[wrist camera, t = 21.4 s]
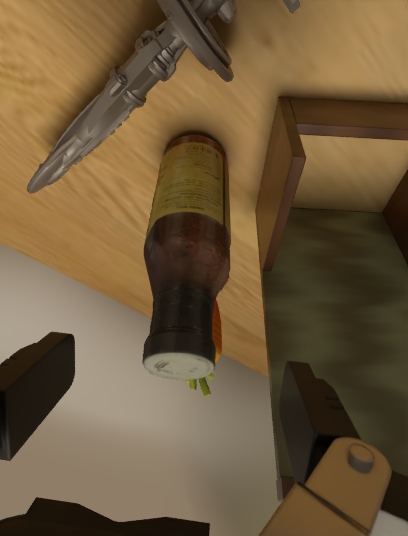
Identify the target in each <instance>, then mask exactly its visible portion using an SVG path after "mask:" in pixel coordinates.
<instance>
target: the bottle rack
mask: <svg viewBox="0 0 408 536" xmlns="http://www.w3.org/2000/svg"><path fill="white" fill-rule="evenodd" d="M299 134H302V135H320V136H338V137H356V138H374V139H392V140H408V104H397V103H379V102H360V101H342V100H323V99H305V98H288V97H278V101H277V106H276V111H275V116H274V121H273V126H272V131H271V136H270V141H269V146H268V151H267V156H266V161H265V166H264V171H263V176H262V181H261V186H260V191H259V196H258V201H257V206H256V224H257V236H258V248H259V261H260V273H261V285H262V297H263V310H264V322H265V334H266V347H267V359H268V371H269V383H270V396H271V407H272V420H273V433H274V445H275V456H276V470H277V478H278V480H277V481H276V484H277V496H278V501H283V500H284V498H285V497H286V496H287V494H288V493H289V491H290V490H291V488H292V487H293V486H294V484H295V481H294V476H293V472H292V468H291V463H290V459H289V454H288V450H287V446H286V441H285V437H284V432H283V428H282V424H281V419H280V414H279V399H280V393H281V387H282V381H283V375H284V369H285V364H286V362H287V361H296V362H304V363H309V365H310V367H311V369H312V371H313V373H314V375H315V377H316V378H320V379H324V380H325V381H326V382H327V383H328V384H329V385H331V386H332V387H333V388H334V389H335V391H336V393H337V395H338V397H339V399H340V401H341V402H342V404H343V406H344V408H345V410H346V412H347V414H348V415H349V417H350V419H351V421H352V423H353V425H354V427H355V429H356V430H357V432H358V434H359V436H360V438H361V440H362V441H365V442H367V443H369V444H370V445H372V446H373V447H375V448H376V449H377V450H379V451H380V452H381V453H382V454H383V455H384V456H385V458H386V459H387V460H388V462H389V464H390V466H391V469H392V470H393V471H395V472H397V473H400V474H402V475H405V476H407V477H408V171H407V173H406V174H405V176H404V178H403V179H402V181H401V183H400V184H399V186H398V188H397V189H396V191H395V193H394V194H393V196H392V198H391V199H390V201H389V203H388V204H387V206H386V208H385V209H384V211H383V213H370V212H353V211H336V210H319V209H302V208H291V206H292V202H293V199H294V196H295V193H296V189H297V186H298V183H299V180H300V176H301V173H302V170H303V167H304V163H305V160H306V156H305V153H304V149H303V146H302V142H301V139H300V136H299Z"/></svg>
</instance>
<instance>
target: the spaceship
mask: <svg viewBox="0 0 408 536" xmlns="http://www.w3.org/2000/svg"><path fill="white" fill-rule="evenodd" d="M156 1H157V2H158V4H159V6H160V7H161V9H162V11H163V12H164V14H165V15H166V17H167V20H165V21H164V22H163V23H162V24H160V25H159V26H158V27H157V28H155V29H154V30H153V31H150V30H147V31H146V32H144V33H143V34H142V35H141V36H140V38H138V39H137V40H136V43H135V48H136V51H135V52H134V54H133V55H132V56H131V57H130V58H129V59H128V61H127V62H126V63H125V64H124V65H123V66H121V67H118V66H116V67H115V68H113V69H111V72H110V75H109V76H110V80H109V81H108V82H107V83H106V85H105V88H104V90H103V91H102V92H101V93H100V94H99V95H97V96H96V97H95V98H94V99H93V100H92V101H91V102H90V103H89V104H88V106H87V107H86V108H85V109H84V110H83V111H82V112H81V113H80V114H79V115H78V117H77V118H76V119H75V120H74V121H73V122H72V124H71V125H70V126H69V127H68V128H67V130H66V131H65V132H64V134H63V135H62V136H61V138H60V139H59V140H58V142H57V143H56V145H55V146H54V148H53V149H52V151H51V152H50V154H49V156H48V157H47V159H46V160H45V162H44V163H42V164H40V165H39V169H38V170H37V171H36V173H35V174H34V176H33V178H32V179H31V180H30V182H29V184H28V186H27V191H28V192H29V193H31V194H32V193H35V192H37V191H39V190H40V189H42V188H44V187H45V186H47V185H51V184H52V183H54V182H56V181H57V180H59V179H60V178H61V177H62V176H63V175H64V174H65V173H66V172H67V171H68V170H69V169H70V167H71V166H72V165H73V164H74V163H75V162H76V161H77V162H76V163H75V165H76V164H77V163H78V162H80V161H81V160H82V159H83V157H84V156H87V155H88V154H89V153H90V152H92V151H93V150H94V149H95V148H96V147H98V146H99V145H100V144H101V143H102V142H103V141H104V140H105V139H106V138H107V137H108V136H109V135H112V134H113V133H114V132H115V129H116V128H118V127H120V126H121V125H122V122H123V121H125V120H126V119H128V118H129V114H130V113H131V112H132V111H133V110H134V109H135V108H136V107H137V108H139V107H142V106H143V105H144V103H145V101H146V97H145V96H146V95H147V92H148V91H149V90H150V89H151V88H152V87H153V86H154V85H155V84H156V83H157V82H158V81H159V80H161V81H167V80H169V78H171V76H172V75H173V73H174V72H175V70H176V63H177V62H178V60H179V59H180V57H181V56H182V54H183V53H184V51H185V50H186V48H187V47H188V48H189V49H190V50H191V51H192V53H193V54H194V55H195V56H196V58H197V59H198V60H199V61H200V62H201V63H202V64H203V65H204V66H205V67H206V68H207V69H209V70H212V69H214V70H215V72H216V73H217V74H218V75H219V76H220V77H221V78H222V79H223V80H224V81H226V82H229V81H232V79H233V77H234V75H233V72H232V69H231V67H230V65H231V58H230V56H229V54H228V52H227V50H226V48H225V46H224V45H223V43H222V41H221V39H220V38H219V36H218V34H217V33H216V31H215V29H214V28H213V26H212V25H211V23H210V21H209V20H208V19H211V18H212V17H213V16H214V15H216V14H217V15H218V16H219V17H220V18H221V19H222V20H223V21H224V22H226V23H230V22H231V21H232V20H233V19H234V18H235V16H236V9H235V6H234V3H233V0H156ZM283 1H284V2H285V4H286V6H287V7H288V9H289V10H290V12H291V13H293V12H294V11H296V10H297V9H298V8H299V7H300V3H299V1H298V0H283ZM162 31H163V32H162ZM161 32H162V33H161ZM82 156H83V157H82Z"/></svg>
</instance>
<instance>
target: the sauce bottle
mask: <svg viewBox="0 0 408 536" xmlns="http://www.w3.org/2000/svg"><path fill="white" fill-rule="evenodd" d="M230 245H231V228H230V202H229V173H228V165H227V162H226V158H225V155H224V152H223V150H222V148H221V147H220V146H219V145H218V144H217V143H216V142H215V141H213V140H212V139H209V138H207V137H205V136H202V135H197V134H194V135H192V134H191V135H190V134H189V135H186V136H183V137H180V138H178V139H176V140H175V141H173V142H172V143H171V144H170V145H169V147H168V149H167V151H166V154H165V156H164V157H163V159H162V162H161V164H160V169H159V175H158V179H157V185H156V190H155V194H154V198H153V203H152V210H151V213H150V219H149V225H148V229H147V235H146V240H145V245H144V259H145V263H146V267H147V272H148V276H149V280H150V285H151V290H152V294H153V299H154V301H153V315H152V321H151V326H150V334H149V336H148V338H147V339H146V341H145V344H144V353H143V365H144V367H145V369H146V370H147V371H149V372H150V373H151V374H153V375H156V376H159V377H163V378H168V379H176V380H194V379H199V378H203V377H206V376H208V375H210V374H211V373H212V372H213V371H214V370H215V359H216V347H215V344H214V341H213V339H212V328H213V312H214V301H215V299H216V297H217V294H218V293H219V291H220V290H221V289H222V288H223V287H224V285H225V284H226V282H227V280H228V279H229V271H230V249H229V248H230Z"/></svg>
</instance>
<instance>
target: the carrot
mask: <svg viewBox="0 0 408 536" xmlns="http://www.w3.org/2000/svg"><path fill="white" fill-rule="evenodd" d="M212 339H213V341H214V344H215V347H216V359H215V362H217V360H218V358H219V357H220V354H221V351H222V334H221V319H220V313H219V308H218V304H217V301H216V299H215V301H214V312H213V328H212ZM213 377H214V376H213V374H212V373H211V374H210V375H208V376H206V378H208V379H213ZM185 381H186V383H190V388H191V389H193V390H196V379H194V380H185ZM199 383H200V386H201V389H202V391H203V394H204V396H207V397H208V396H209V395H210V394H211V393H210V390H209V387H208V385H207V382H206V380H205V377H203V378H199Z"/></svg>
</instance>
